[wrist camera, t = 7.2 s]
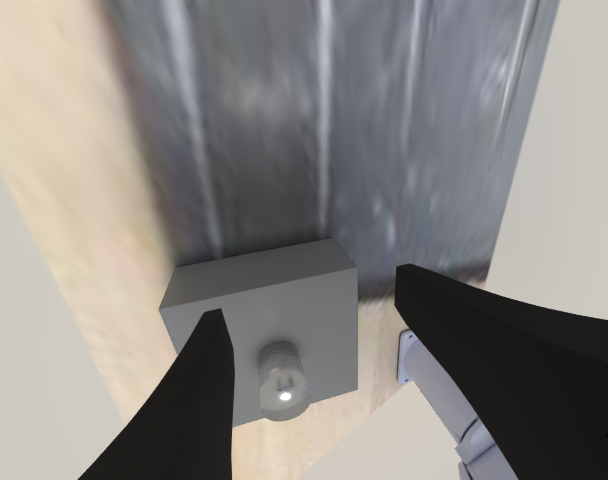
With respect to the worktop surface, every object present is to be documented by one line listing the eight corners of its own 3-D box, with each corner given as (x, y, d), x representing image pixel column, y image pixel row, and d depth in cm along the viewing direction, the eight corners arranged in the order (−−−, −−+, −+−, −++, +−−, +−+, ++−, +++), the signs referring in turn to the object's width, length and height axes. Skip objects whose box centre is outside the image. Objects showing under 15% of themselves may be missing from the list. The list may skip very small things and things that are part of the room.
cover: (332, 237, 21) (385, 298, 14) (337, 346, 27) (377, 432, 19) (175, 267, 19) (138, 358, 12) (214, 379, 25) (205, 490, 17)
